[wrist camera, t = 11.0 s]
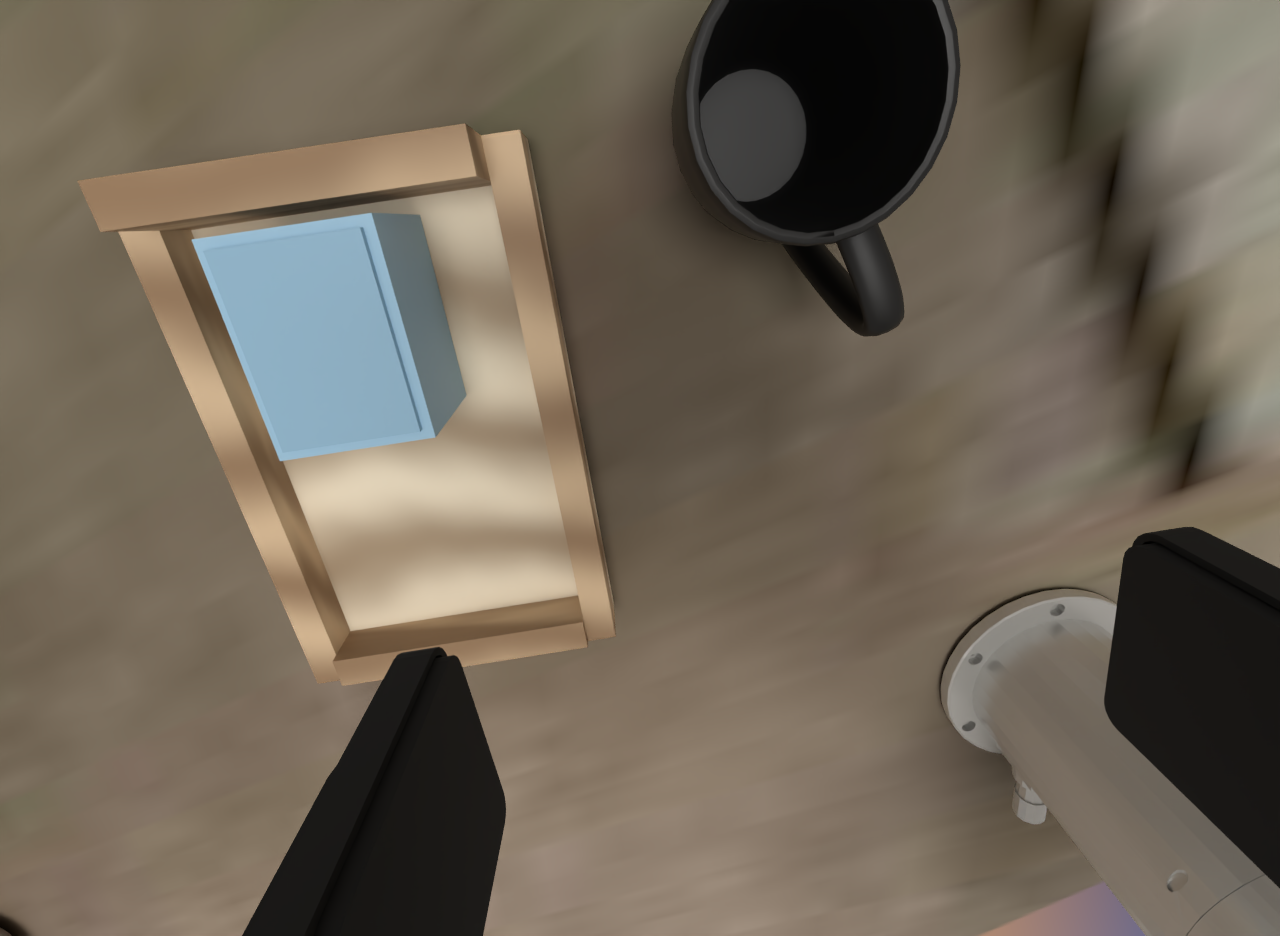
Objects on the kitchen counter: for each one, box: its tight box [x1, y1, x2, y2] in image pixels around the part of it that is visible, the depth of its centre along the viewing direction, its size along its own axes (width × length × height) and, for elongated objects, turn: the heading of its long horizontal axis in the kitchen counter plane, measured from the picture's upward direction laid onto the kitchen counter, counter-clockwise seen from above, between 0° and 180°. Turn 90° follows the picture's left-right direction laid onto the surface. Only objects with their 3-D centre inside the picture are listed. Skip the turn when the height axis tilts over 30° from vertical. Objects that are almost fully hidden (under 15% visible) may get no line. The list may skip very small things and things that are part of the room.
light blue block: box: [192, 213, 466, 461], centre depth 24 cm, size 8×6×6 cm
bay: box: [78, 124, 616, 686], centre depth 27 cm, size 24×16×6 cm, turn 8°
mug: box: [672, 0, 960, 336], centre depth 23 cm, size 8×12×10 cm
